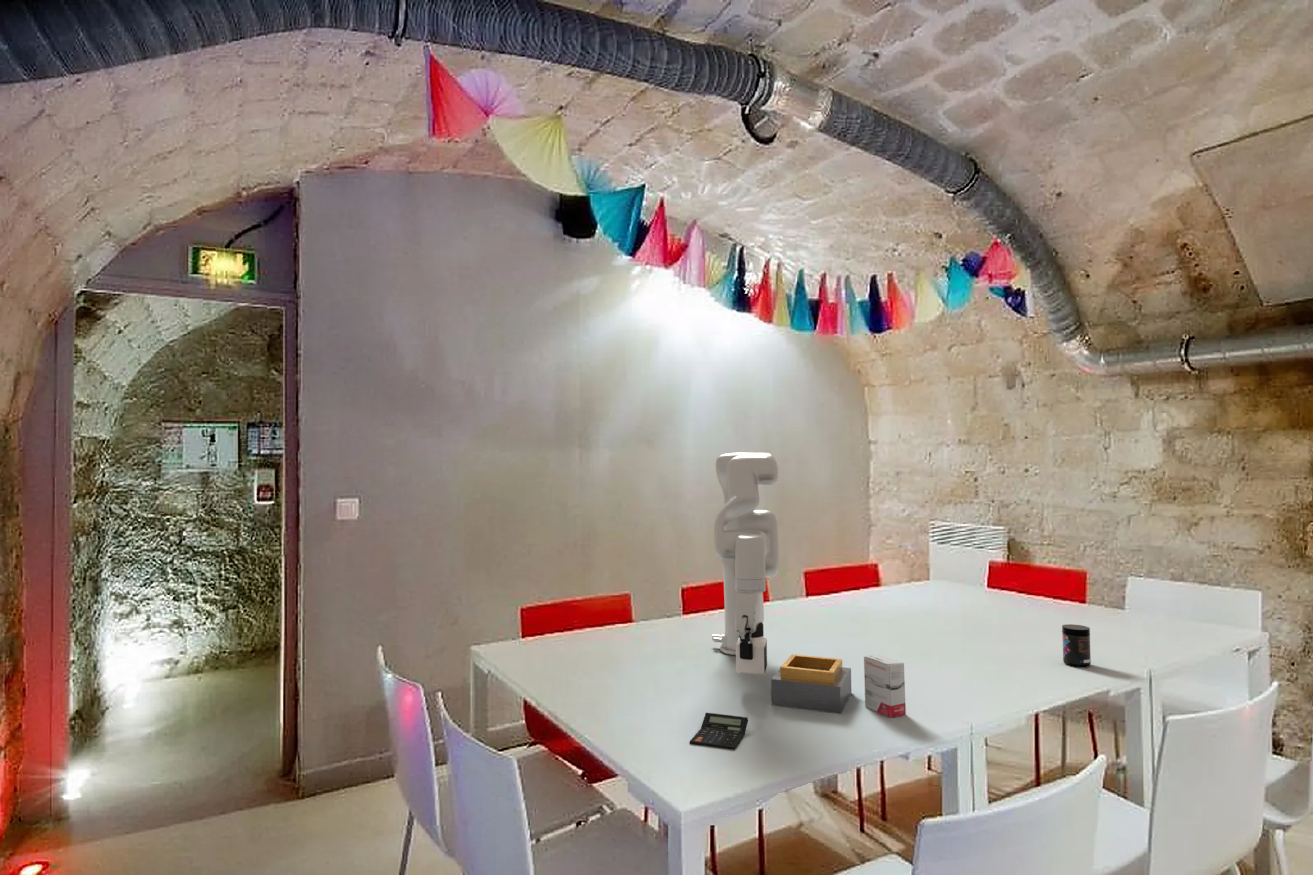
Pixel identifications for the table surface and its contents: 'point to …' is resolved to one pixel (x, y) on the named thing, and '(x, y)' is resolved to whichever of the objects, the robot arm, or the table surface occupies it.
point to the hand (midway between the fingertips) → (751, 653)
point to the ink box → (884, 685)
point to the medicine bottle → (759, 654)
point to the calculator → (721, 731)
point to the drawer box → (812, 684)
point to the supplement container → (1076, 645)
